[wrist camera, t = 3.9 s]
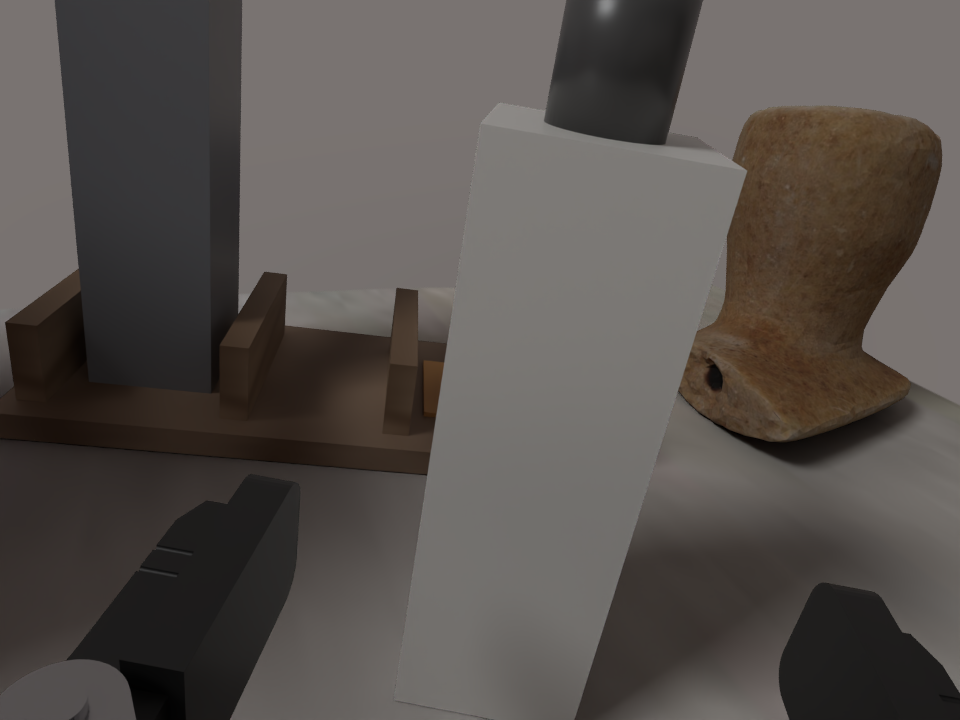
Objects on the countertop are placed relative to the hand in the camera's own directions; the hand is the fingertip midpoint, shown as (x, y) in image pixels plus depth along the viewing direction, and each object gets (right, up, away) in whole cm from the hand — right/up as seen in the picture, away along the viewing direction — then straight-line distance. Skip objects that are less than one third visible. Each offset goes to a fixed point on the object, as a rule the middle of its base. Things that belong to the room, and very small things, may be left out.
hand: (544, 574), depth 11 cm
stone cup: (+14, +2, +28) cm, 32 cm away
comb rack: (-8, +2, +20) cm, 21 cm away
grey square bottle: (-14, +3, +18) cm, 23 cm away
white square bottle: (-1, -5, +9) cm, 10 cm away
